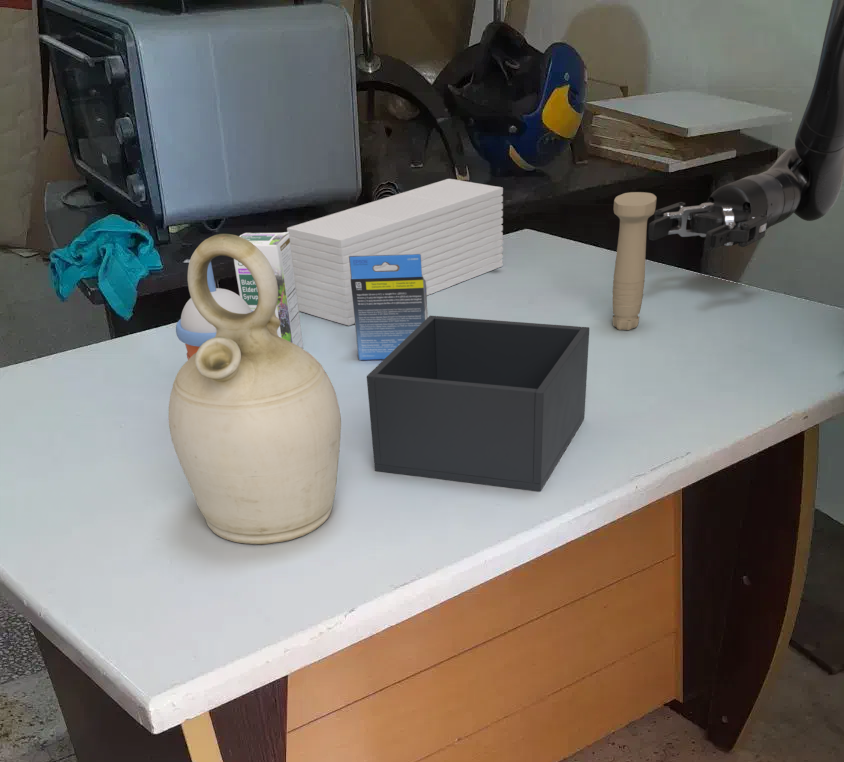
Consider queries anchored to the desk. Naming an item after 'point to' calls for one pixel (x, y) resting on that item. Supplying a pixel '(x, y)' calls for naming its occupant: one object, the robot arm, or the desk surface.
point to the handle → (630, 256)
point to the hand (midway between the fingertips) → (679, 236)
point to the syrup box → (281, 262)
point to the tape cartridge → (386, 302)
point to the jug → (253, 414)
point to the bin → (479, 401)
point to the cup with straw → (198, 329)
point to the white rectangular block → (399, 242)
